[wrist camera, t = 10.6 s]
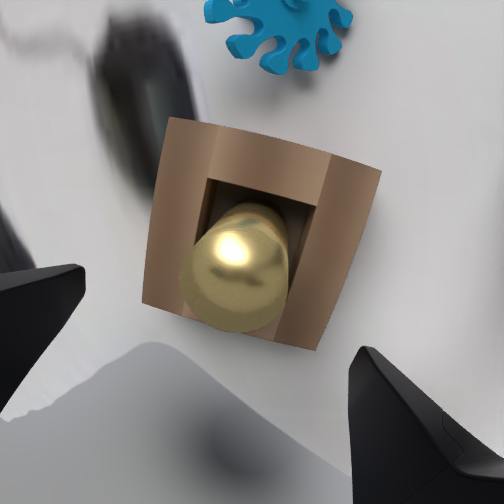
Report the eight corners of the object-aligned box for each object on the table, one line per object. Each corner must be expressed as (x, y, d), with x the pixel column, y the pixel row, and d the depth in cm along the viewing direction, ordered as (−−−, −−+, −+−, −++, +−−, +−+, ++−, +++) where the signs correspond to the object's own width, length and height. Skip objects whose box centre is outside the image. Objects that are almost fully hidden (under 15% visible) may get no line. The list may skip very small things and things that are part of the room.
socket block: (362, 166, 17) (381, 171, 14) (311, 317, 21) (315, 350, 17) (192, 122, 17) (169, 116, 14) (164, 277, 21) (141, 302, 18)
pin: (295, 207, 18) (302, 250, 10) (278, 267, 19) (271, 343, 11) (230, 189, 18) (189, 220, 10) (216, 251, 19) (174, 315, 12)
